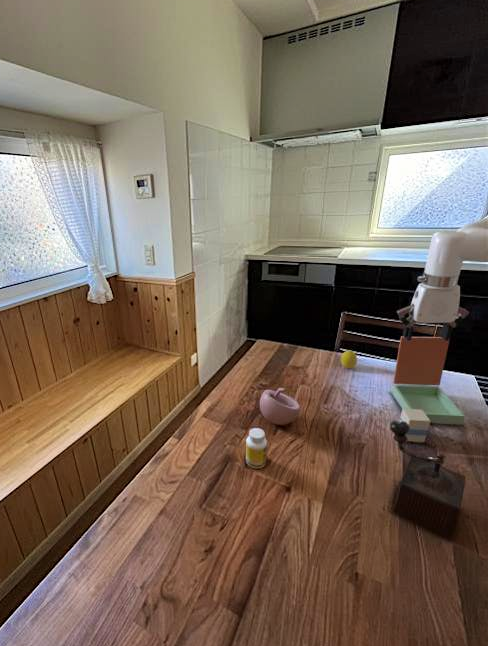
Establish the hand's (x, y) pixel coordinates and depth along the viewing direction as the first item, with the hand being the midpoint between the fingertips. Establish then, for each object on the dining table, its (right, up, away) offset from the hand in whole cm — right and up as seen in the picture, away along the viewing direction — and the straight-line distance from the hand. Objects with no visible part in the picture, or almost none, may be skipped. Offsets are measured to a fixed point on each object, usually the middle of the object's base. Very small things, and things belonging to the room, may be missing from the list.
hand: (425, 338), depth 96 cm
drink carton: (-5, -28, -1) cm, 29 cm away
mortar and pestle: (-39, -26, +10) cm, 48 cm away
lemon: (-6, -12, +35) cm, 37 cm away
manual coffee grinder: (-17, -38, -19) cm, 45 cm away
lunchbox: (+7, -22, +10) cm, 25 cm away
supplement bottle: (-49, -34, -5) cm, 60 cm away
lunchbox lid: (+7, -8, +12) cm, 16 cm away
